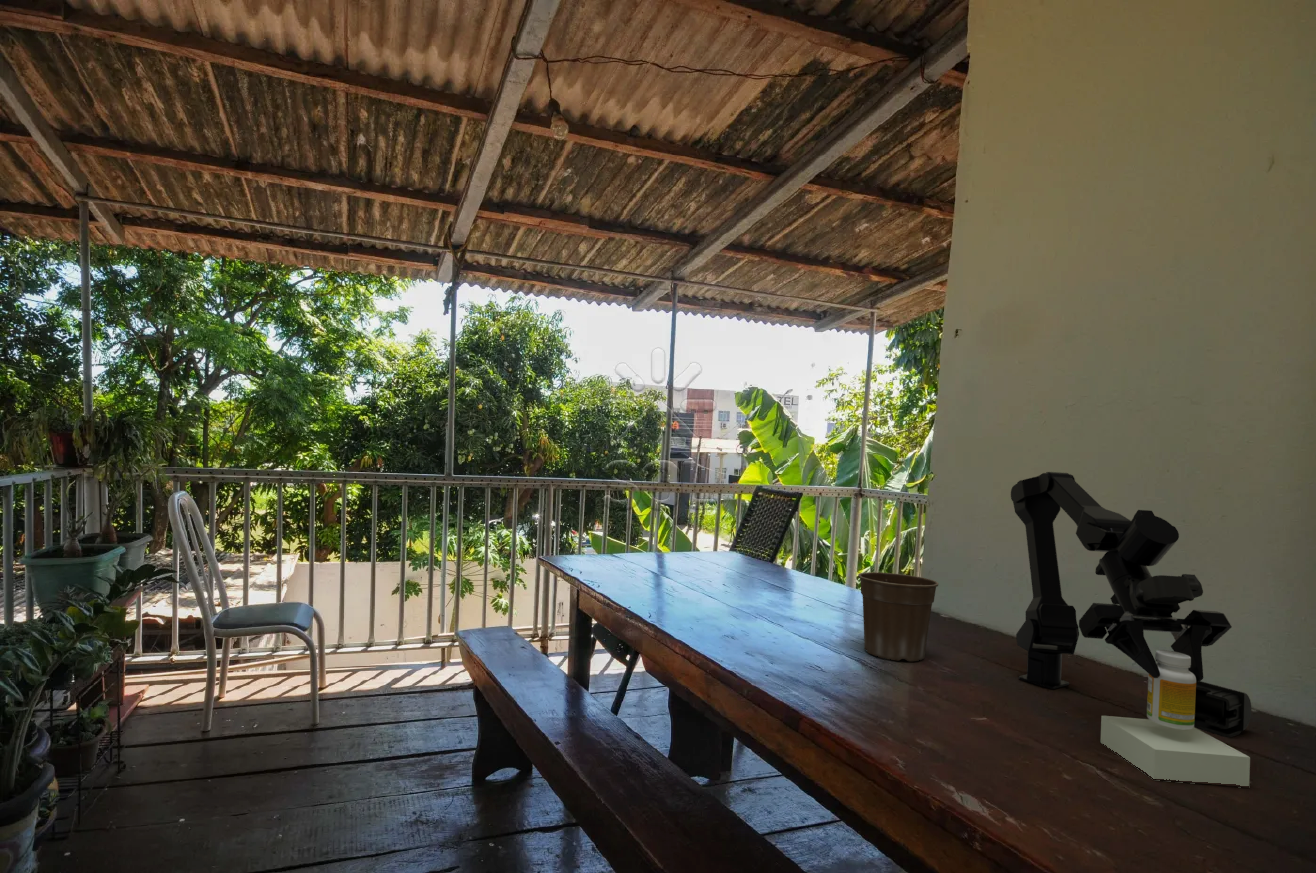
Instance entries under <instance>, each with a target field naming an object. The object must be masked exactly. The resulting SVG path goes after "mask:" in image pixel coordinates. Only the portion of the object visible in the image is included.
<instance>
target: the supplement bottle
mask: <svg viewBox="0 0 1316 873" xmlns="http://www.w3.org/2000/svg"><path fill="white" fill-rule="evenodd" d="M1154 659H1155V661H1156V663H1157V666H1158V669H1159V672H1160V676H1159V677H1158V678H1153V677H1152V676H1151V675H1150V674H1149V673H1148V678H1147V679H1148V681H1147V699H1146V717H1147V719H1150V720H1151V721H1153V722H1155V723H1158V724H1160V725H1163V726H1167V727H1171V728H1175V729H1182V730H1188V729H1192V728H1193V727H1194V722H1195V697H1196V677H1195V675H1194V674H1193V673H1192V672H1190V671H1189V670H1188V668H1190V665H1191V657H1190V656H1188V655H1186V654H1183V653H1179V652H1174V650H1167V649H1166V650H1165V649H1157V650H1156V651H1155V655H1154Z"/></svg>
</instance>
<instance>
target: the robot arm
mask: <svg viewBox="0 0 1316 873" xmlns="http://www.w3.org/2000/svg"><path fill="white" fill-rule="evenodd" d="M1010 498H1011V499H1010V500H1011V502H1012V503H1013V507H1014V508H1013V509H1014V512H1015V513H1014V514H1015V515H1016V516H1017V517H1018V518H1019V520H1021V522H1022V523H1023V524H1024V526H1025V535H1026V543H1027V544H1026V545H1027V553H1028V554H1027V555H1028V562H1029V571H1030V579H1031V581H1030V582H1031V590H1032V599H1031V601H1030V603H1029V604H1028V607H1027V609H1026V610H1025V621H1024V622H1023V623H1022V625H1021V627H1020V628H1019V629H1018V631H1017V632H1016V635H1015V636H1016V644H1017V646H1019V647H1020V648H1021V649H1024V650H1026V651H1027V662H1026V663H1027V664H1026V674H1023V675H1019V676H1018V680H1020V681H1021V680H1022V681H1025V682H1028V683H1030V684H1034V685H1038V686H1041V687H1044V688H1047V689H1051V690H1054V689H1059V688H1063V687H1066V686H1069V685H1070V682H1069V681H1066V680H1062V664H1063V663H1062V661H1063V654H1064V655H1070V656H1071V655H1075V652H1076V649H1077V648H1076V647H1077V643H1078V640H1079V636H1080V632H1081V635H1082V636H1083V638H1085V639H1099V640H1102V639H1104V638H1105V639H1104V641H1105V643H1106V644H1108V645H1109V644H1110V645H1112V646H1114V647H1115V648H1117V649H1118V650H1119V651H1121V652H1122V653H1123V654H1124V655H1125V656H1127V657H1129V658H1130V659H1131V660H1132V661H1133V662H1135V663H1136V664H1137V665H1138V666H1139V667H1140V668H1142V669H1143V670H1144V672H1146V673H1147V674H1148V675H1149V674H1150V675H1151V676H1152V677H1153V678H1158V677H1159V676H1160V672H1159V669H1158V666H1157V661H1156V659H1155V656H1153V653H1152V651H1151V649H1150V647H1149V645H1148V643H1147V640H1146V639H1145V634H1144V631H1148V632H1162V633H1170V634H1171V635H1172V636H1173V638H1174V640H1175V641H1174V642H1173V643H1172V644H1171V645H1170V647H1171V649H1172V651H1174V652H1179V653H1183V654H1186V655H1188V656H1190V657H1191V665H1190V668H1188V670H1189V671H1190V672H1192V673H1193V674H1194V675H1195V677H1196V681H1198V682H1200V681H1202V680H1203V679H1204V666H1203V657H1202V656H1203V655H1202V648H1203V647H1210V646H1213V645H1214V644H1215V643H1217V641H1218V640H1220V638H1222V637H1223V636H1224V635H1225V634H1226V633H1228V631H1230V629H1232V624H1231V623H1230V621H1229V620H1228V618H1227V616H1226V615H1225V613H1223V612H1220V611H1215V610H1201V609H1192V611H1190V612H1189V614H1187V615H1186V616H1185V618H1177V617H1173V615H1172V614H1173V613H1174V614H1175V613H1178V611H1180V609H1181V607H1180V605H1179V604H1182V603H1184V602H1188V601H1189V602H1191V601H1194V600H1195V599H1196V598H1198V597H1202V596H1203V594H1204V590H1203V585H1202V584H1201V581H1200V580H1199V578H1198V577H1197V576H1196V575H1195V574H1187V573H1182V574H1181V575H1180V576H1179V575H1178V576H1176V575H1165V574H1163V575H1158V574H1157V575H1153V576H1152V575H1151V572H1150V571H1149V569H1148V567H1152V566H1156V565H1157V564H1158V563H1159V562H1160V561H1162V559H1163V558H1164V556H1165V555H1166V554H1167V553H1168V552H1169V551H1170V550H1171V548H1172V547H1173V546H1174V545H1175V544H1176V543H1177V542H1178V540H1179V537H1180V534H1179V531H1178V529H1177V528H1176V526H1174V525H1172V524H1171V523H1170V522H1169V521H1167V520H1166V519H1164V518H1162V517H1160V516H1157V515H1155V514H1154V512H1153V510H1150V509H1138V510H1137V511H1136V513H1134V515H1133V517H1132V519H1129V518H1127V517H1126V516H1124V515H1122V514H1121V513H1118V512H1115V511H1112V510H1108V509H1106V508H1104V507H1103V506H1102V505H1100V504H1099V503H1098V502H1097V501H1096V500H1095V499H1094V497H1092V496H1091V494H1089V493H1088V491H1086V490H1085V489H1084V488H1083V487H1082V486H1081V485H1080V484H1079V483H1078V482H1077V481H1076V478H1075V476H1074V475H1072V474H1071V473H1068V472H1058V471H1057V472H1054V471H1046V472H1043V473H1041V474H1040V475H1037V476H1033V477H1029V478H1026V479H1021V480H1018V481H1017V483H1015V484H1013V485H1012V488H1011V490H1010ZM1061 509H1062V510H1063V511H1064V513H1066V514H1067V515H1068V516H1069V518H1070V519H1071V520H1072V521H1073V522H1074V524H1075V525H1076V526H1077V527H1076V531H1075V534H1076V537H1077V538H1078V540H1079V541H1080V543H1081V545H1082V546H1083V547H1084V549H1086V550H1087V551H1090V552H1104V555H1103V556H1102V557H1101V558H1099V560H1098V564H1097V565H1096V567H1095V575H1096V576H1105V577H1106V579H1107V581H1108V584H1109V586H1110V588H1111V591H1112V593H1113V595H1112V596H1111V597H1110V601H1111V603H1104V602H1103V603H1102V602H1101V603H1100V602H1093V603H1092V604H1091V605H1090V606H1089V607H1088V609H1087V610H1086V611H1085V613H1084V614H1083V615H1082V616H1081V617H1080V619H1079V620H1077V610H1076V608H1075V607H1074V605H1069V604H1068V603H1067V601H1066V600H1064V597H1063V595H1062V593H1063V592H1062V586H1061V579H1060V578H1061V577H1060V571H1059V562H1058V554H1057V545H1056V537H1055V528H1054V522H1055V520H1056V518H1057V517H1058V515H1059V513H1060V511H1061ZM1079 629H1080V630H1079ZM1107 634H1108V635H1107ZM1106 635H1107V636H1106ZM1105 636H1106V637H1105Z"/></svg>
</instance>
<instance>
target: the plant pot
mask: <svg viewBox="0 0 1316 873" xmlns="http://www.w3.org/2000/svg"><path fill="white" fill-rule="evenodd" d="M857 577H858V579H860V594H861V595H862V611H863V612H862V614H863V644H864V646H863V648H864V651H866V652H867V653H868V654H870V655H873V656H875V657H877V656H878V657H877V658H880V659H884V658H886V659H885V660H890V659H891V660H892V661H897V662H899V661H901V660H906V661H907V662H920V661H922V660H924V659H925V656H926V648H927V642H928V634H929V628H930V619H931V613H932V606H933V603H934V602H935V595H936V590H937V587H939V582H938V581H937V580H934V579H931V578H925V577H921V576H916V575H909V574H900V573H893V572H891V573H890V572H876V571H875V572H872V571H871V572H860V573H858V574H857ZM919 660H920V661H919Z"/></svg>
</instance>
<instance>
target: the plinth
mask: <svg viewBox="0 0 1316 873" xmlns="http://www.w3.org/2000/svg"><path fill="white" fill-rule="evenodd" d="M1100 720H1101V722H1100V743H1101V744H1102V745H1103V744H1104V745H1103V746H1105V745H1106V746H1107V748H1108V749H1109V748H1110V749H1111V751H1112V750H1113V751H1114V752H1113V751H1112V752H1113V753H1115V752H1117V753H1118V754H1119V755H1121V756H1122V757H1123V758H1125V759H1126V760H1128V761H1129V762H1131V763H1132V764H1133V765H1135V766H1136V767H1138V768H1140V769H1141V770H1143V771H1144V772H1146V773H1147V774H1148V775H1149V776H1151V777H1152V778H1153V779H1164V780H1166V779H1167V780H1169V779H1170V780H1176V781H1178V780H1179V781H1192V782H1208V783H1221V784H1236V785H1240V786H1249V787H1250V774H1251V773H1250V772H1251V770H1250V769H1251V768H1250V767H1251V757H1250V756H1249V755H1247V754H1245V753H1243V752H1241V751H1240V750H1238V749H1235V748H1234V747H1231V746H1230V745H1227V744H1226V743H1225V742H1223V741H1221V740H1219V739H1217V738H1215V737H1213V736H1212V735H1210V734H1208V733H1206V732H1204V731H1203V730H1201V729H1197V728H1195V727H1193V728H1192V729H1188V730H1182V729H1175V728H1171V727H1167V726H1163V725H1160V724H1158V723H1155V722H1153V721H1151V720H1150V719H1149V718H1135V717H1124V716H1123V717H1122V716H1112V715H1110V716H1109V715H1101V719H1100ZM1106 746H1105V747H1106ZM1110 749H1109V750H1110ZM1118 754H1117V755H1118ZM1119 755H1118V756H1119ZM1122 757H1121V758H1122ZM1123 758H1122V759H1123ZM1125 759H1124V760H1125ZM1126 760H1125V761H1126ZM1128 761H1127V762H1128ZM1129 762H1128V763H1129ZM1132 764H1131V765H1132ZM1133 765H1132V766H1133ZM1135 766H1134V767H1135ZM1136 767H1135V768H1136ZM1138 768H1137V769H1138ZM1149 776H1148V777H1149ZM1152 778H1151V779H1152ZM1153 779H1152V780H1153Z"/></svg>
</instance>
